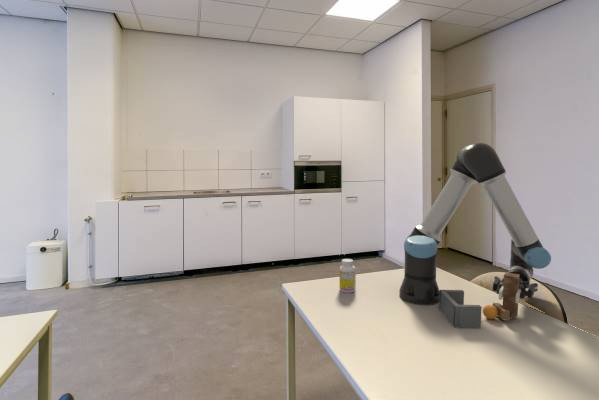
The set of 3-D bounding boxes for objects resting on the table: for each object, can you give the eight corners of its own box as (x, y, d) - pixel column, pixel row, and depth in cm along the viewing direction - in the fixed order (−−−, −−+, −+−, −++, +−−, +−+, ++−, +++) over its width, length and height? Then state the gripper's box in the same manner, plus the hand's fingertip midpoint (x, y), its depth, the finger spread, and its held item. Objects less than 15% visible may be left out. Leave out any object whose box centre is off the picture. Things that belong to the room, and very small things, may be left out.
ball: (480, 315, 119) (479, 303, 118) (494, 315, 119) (493, 302, 118) (486, 321, 114) (486, 308, 114) (501, 320, 114) (500, 307, 114)
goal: (438, 308, 125) (439, 289, 124) (461, 308, 124) (462, 290, 124) (454, 327, 110) (455, 306, 109) (480, 328, 109) (481, 306, 109)
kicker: (489, 316, 115) (490, 275, 114) (493, 309, 121) (494, 270, 119) (514, 322, 111) (516, 280, 109) (517, 315, 116) (519, 274, 115)
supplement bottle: (344, 286, 149) (344, 257, 148) (358, 289, 145) (358, 259, 144) (336, 291, 143) (336, 260, 142) (350, 294, 140) (351, 263, 138)
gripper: (545, 293, 124) (540, 315, 106) (491, 283, 135) (478, 302, 116) (546, 272, 123) (541, 291, 105) (492, 264, 134) (479, 280, 116)
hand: (508, 297), depth 111 cm, fingers closed on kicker, 4 cm apart
